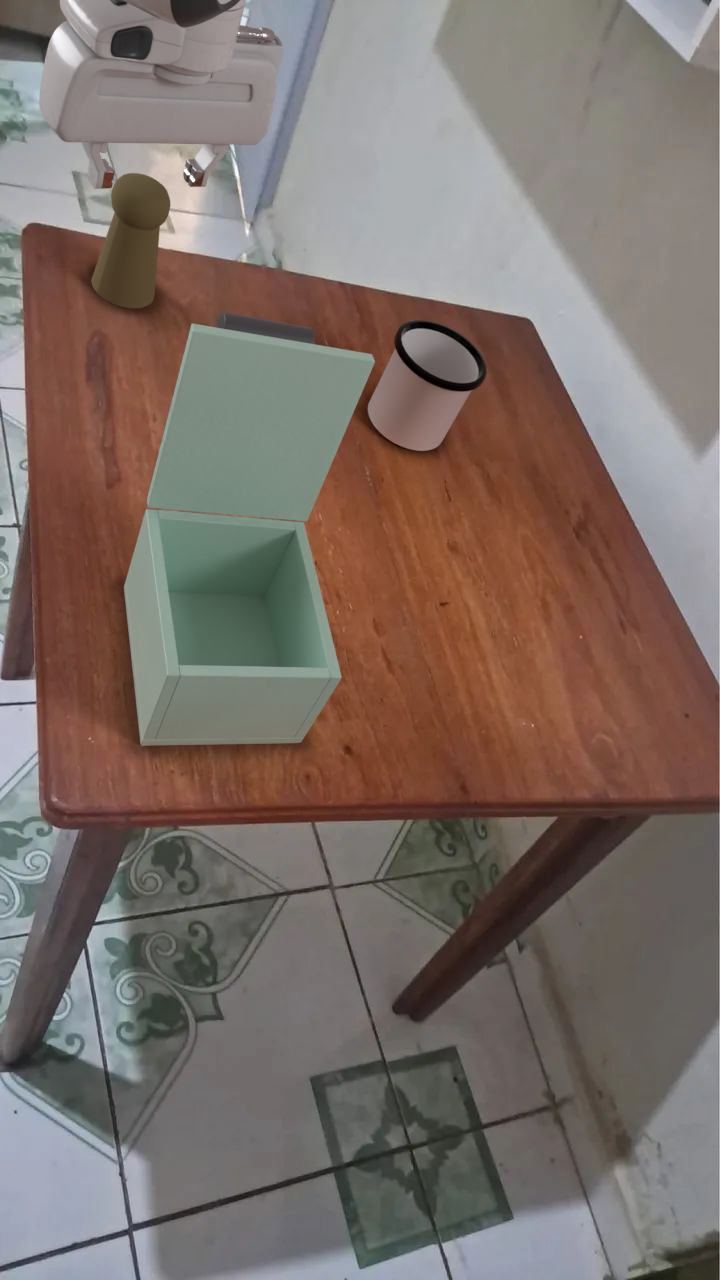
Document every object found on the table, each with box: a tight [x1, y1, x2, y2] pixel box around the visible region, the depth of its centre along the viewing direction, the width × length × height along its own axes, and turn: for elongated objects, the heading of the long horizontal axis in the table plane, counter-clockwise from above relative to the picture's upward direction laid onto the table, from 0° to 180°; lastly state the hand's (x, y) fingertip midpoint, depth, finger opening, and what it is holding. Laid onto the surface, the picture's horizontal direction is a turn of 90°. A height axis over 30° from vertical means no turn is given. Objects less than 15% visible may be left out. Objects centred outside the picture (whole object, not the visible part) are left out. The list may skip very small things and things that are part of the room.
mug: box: [367, 319, 488, 452], centre depth 94 cm, size 12×10×9 cm
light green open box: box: [123, 508, 343, 747], centre depth 67 cm, size 14×12×9 cm
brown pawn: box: [91, 172, 171, 309], centre depth 88 cm, size 6×6×11 cm
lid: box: [146, 311, 376, 522], centre depth 64 cm, size 14×12×5 cm
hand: (148, 184), depth 85 cm, fingers open, 8 cm apart
